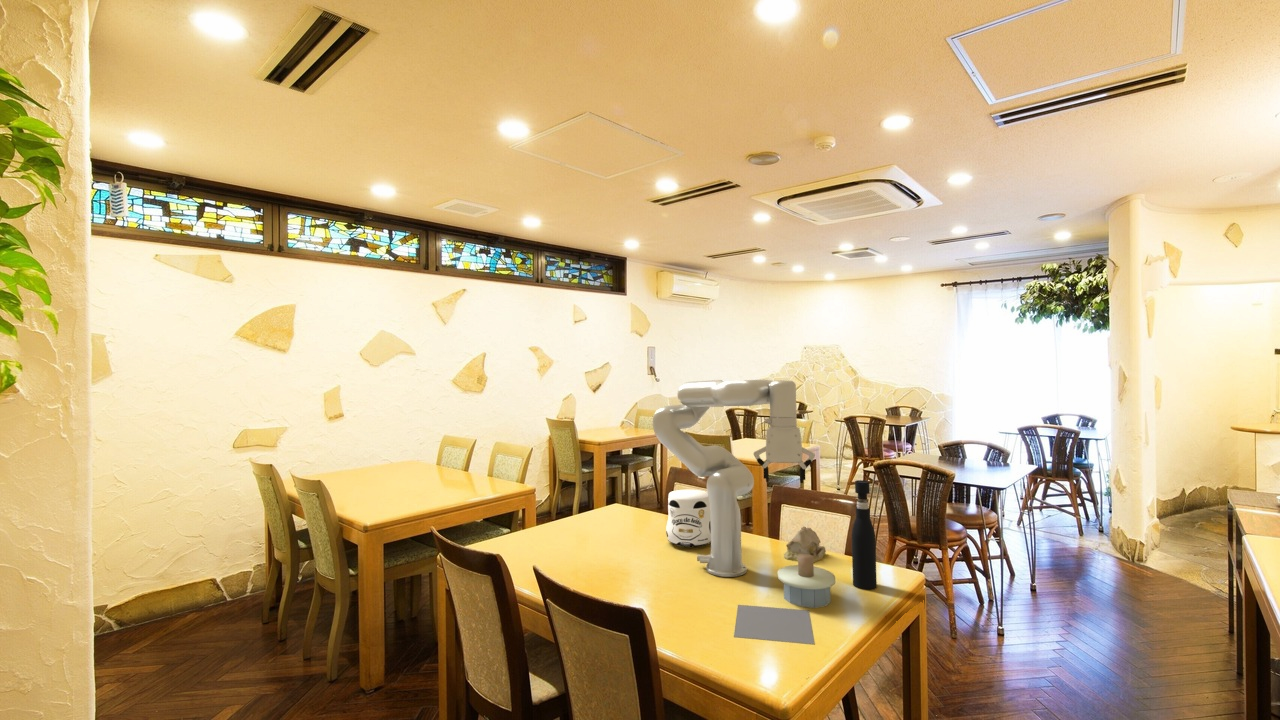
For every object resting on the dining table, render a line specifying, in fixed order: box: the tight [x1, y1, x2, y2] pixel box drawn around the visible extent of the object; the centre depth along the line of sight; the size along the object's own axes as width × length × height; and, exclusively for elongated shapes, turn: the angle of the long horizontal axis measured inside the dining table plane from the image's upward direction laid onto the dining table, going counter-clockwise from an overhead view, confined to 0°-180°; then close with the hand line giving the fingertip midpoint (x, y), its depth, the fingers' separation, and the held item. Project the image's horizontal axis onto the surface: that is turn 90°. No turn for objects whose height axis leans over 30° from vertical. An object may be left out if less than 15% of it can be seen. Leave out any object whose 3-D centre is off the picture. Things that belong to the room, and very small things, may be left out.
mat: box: [733, 604, 816, 645], centre depth 134 cm, size 18×18×1 cm
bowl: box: [783, 583, 832, 609], centre depth 149 cm, size 12×12×6 cm
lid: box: [777, 554, 836, 589], centre depth 149 cm, size 15×15×6 cm
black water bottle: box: [851, 479, 878, 591], centre depth 159 cm, size 6×6×30 cm
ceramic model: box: [783, 526, 827, 563], centre depth 185 cm, size 14×11×10 cm
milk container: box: [665, 489, 711, 548], centre depth 200 cm, size 17×17×18 cm
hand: (784, 481), depth 159 cm, fingers open, 9 cm apart
